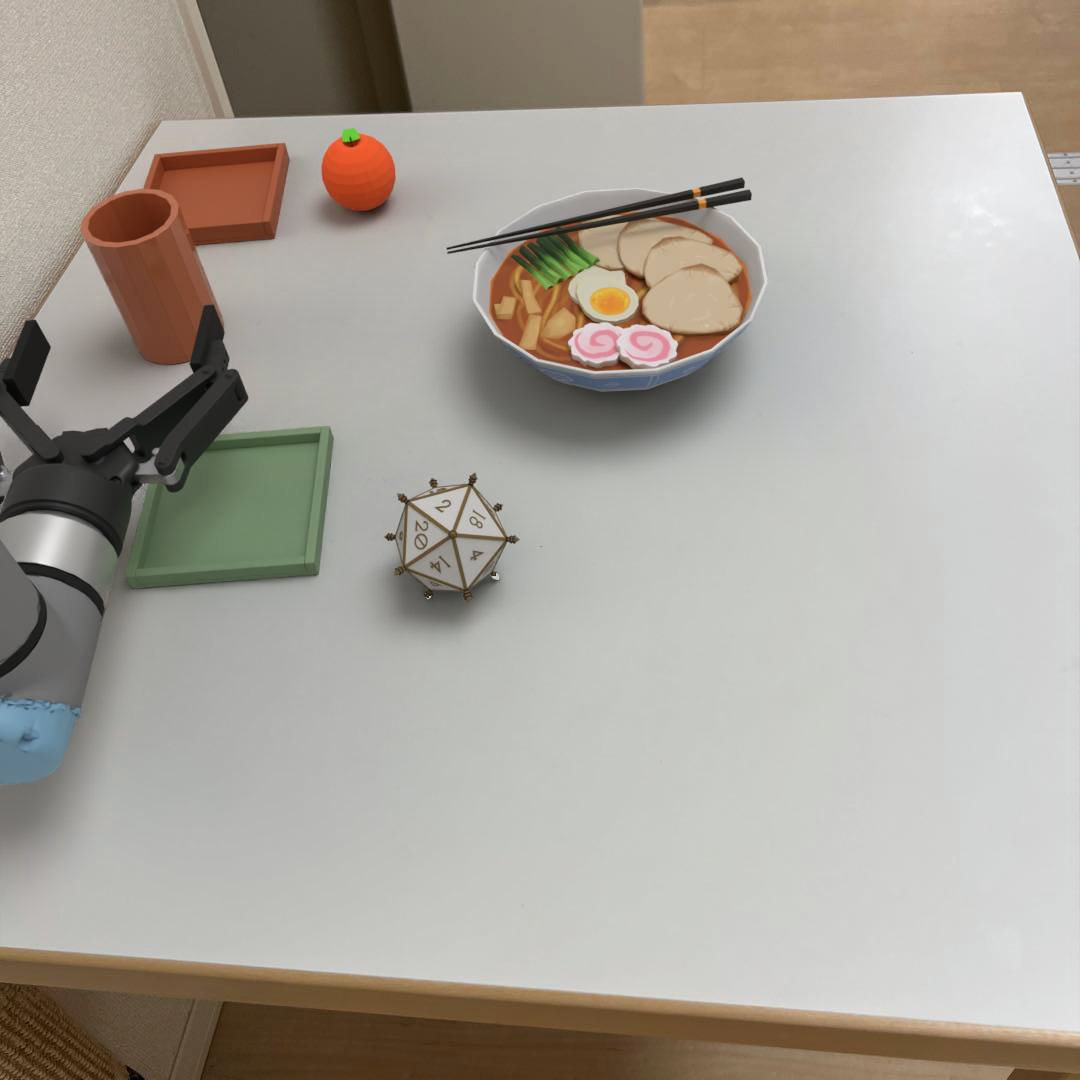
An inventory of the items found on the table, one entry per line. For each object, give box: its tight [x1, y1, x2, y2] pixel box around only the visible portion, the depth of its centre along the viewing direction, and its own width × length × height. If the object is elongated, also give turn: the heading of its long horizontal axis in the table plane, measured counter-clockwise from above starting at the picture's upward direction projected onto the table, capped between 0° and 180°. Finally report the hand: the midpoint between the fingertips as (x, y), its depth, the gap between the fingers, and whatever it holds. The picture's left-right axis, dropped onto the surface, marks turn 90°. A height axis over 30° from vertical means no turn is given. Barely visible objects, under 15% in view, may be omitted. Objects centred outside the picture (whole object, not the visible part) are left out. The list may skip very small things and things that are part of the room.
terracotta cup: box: [79, 188, 225, 365], centre depth 88 cm, size 8×8×12 cm
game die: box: [383, 471, 521, 604], centre depth 71 cm, size 9×8×10 cm
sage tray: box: [124, 425, 335, 589], centre depth 79 cm, size 13×13×1 cm
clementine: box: [320, 127, 397, 212], centre depth 101 cm, size 8×7×7 cm
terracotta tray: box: [142, 142, 291, 246], centre depth 104 cm, size 13×13×2 cm
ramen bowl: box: [446, 176, 769, 393], centre depth 85 cm, size 25×23×8 cm
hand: (126, 326), depth 81 cm, fingers open, 13 cm apart
